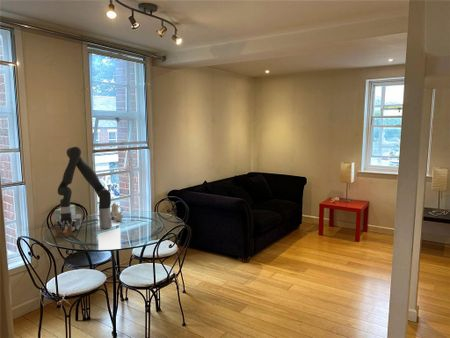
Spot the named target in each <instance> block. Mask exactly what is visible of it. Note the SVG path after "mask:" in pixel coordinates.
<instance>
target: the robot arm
mask: <svg viewBox="0 0 450 338" xmlns="http://www.w3.org/2000/svg"><path fill="white" fill-rule="evenodd" d="M81 155H82V149H81V148H80V147H78V146H71V147H69V148H67V150H66V156H67V157H68V159H69V160H68V163H67V166H66V167H65V170H64V172H63V176H62V180H61V181H60V184H59V186H58V188H57V194H58V196H63V198H61V199H60V200H59V201H60V204H59V205H60V207H59V208H60V212H61V220H60V221H57V223H58V226H60V229H61V231H62V233H63V230H65V227H66V226H67V225H68V226H71V221H72V223H73V224H72V228H73V227H74V225H75V222H76V220H72V218H71V206H70V205H71V198H72V193H73V192H72V188H71V187H69V185H71V184H72V183H73V179H74V175H75V171H76V168H77V170H79V172H80V174H81V175H82V176H83V178H84V179H85V180H86V181H87V183H88V184H89V185H90V186H91V187H92V188H93V190H94V192H95V193H96V194H97V196H98V201H99V202H98V203H99V204H98V215H99V216H98V218H99V220H98V221H99V222H98V223H99V228H100V229H101V230H102V229H103V230H104V229H105V230H106V229H111V228H112V226H113V225H112V223H113V222H112V221H113V220H112V219H111V211H112V210H111V205H112V198H111V197H112V196H111V195H112V193H111V191H110V190H108V189H107V188H106V187H105V186H104V185H103V184H102V183H101V181H100V179H99V176H98V175H97V173H96V171H95V170H94V168H93V167H92V166H90V165H89V164H88V163H87V162H86V161H85V160H83V158H82V156H81ZM61 222H62V223H63V224H62V225H61Z"/></svg>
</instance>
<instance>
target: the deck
mask: <svg viewBox="0 0 450 338" xmlns="http://www.w3.org/2000/svg"><path fill="white" fill-rule="evenodd" d="M66 226H67V225H66ZM67 231H68V234H63V233H62V234H61V228H60V226H55V225H54V232H55V233H54V234H55V237H56V238H57V237H58V238H59V237H60V238H61V237H73V236H74V233H73V232H74V231H72V226H67Z"/></svg>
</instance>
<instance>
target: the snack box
mask: <svg viewBox="0 0 450 338" xmlns="http://www.w3.org/2000/svg"><path fill="white" fill-rule="evenodd" d="M70 206H71V215H73V214H76V205H75V204H70ZM60 208H61V207H59V208H57V209H54V227H55V226H58V223H57V221H60V220H61V212H60ZM62 224H63V223H62V222H61V225H62Z"/></svg>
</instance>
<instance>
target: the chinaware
mask: <svg viewBox="0 0 450 338" xmlns="http://www.w3.org/2000/svg"><path fill="white" fill-rule="evenodd" d="M110 208H111V210H110V211H111V219H112V221H116V222H117V223H121V222H123V219H125V217H124V215H123V214H122V213H123V211H124V210H123V209H124V208H123V206H121V205H119V204H117V203H116V202H115V201H114V202H113V203H112V204H111V205H110ZM119 208H121V211H119ZM97 216H98V217H99V214H97Z"/></svg>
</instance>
